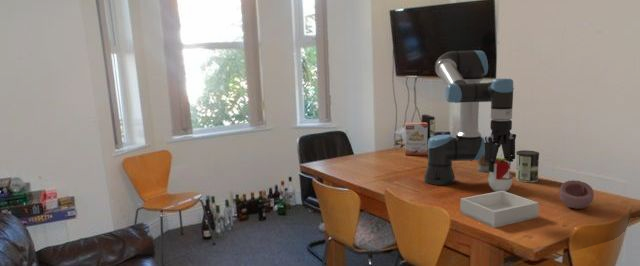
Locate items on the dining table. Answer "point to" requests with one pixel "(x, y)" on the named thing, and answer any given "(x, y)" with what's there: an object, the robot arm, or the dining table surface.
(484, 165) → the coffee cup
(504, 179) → the lidded jar
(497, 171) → the strawberry
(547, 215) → the dining table surface
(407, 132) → the cracker box
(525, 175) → the coffee can
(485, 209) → the bin
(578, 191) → the mortar and pestle
